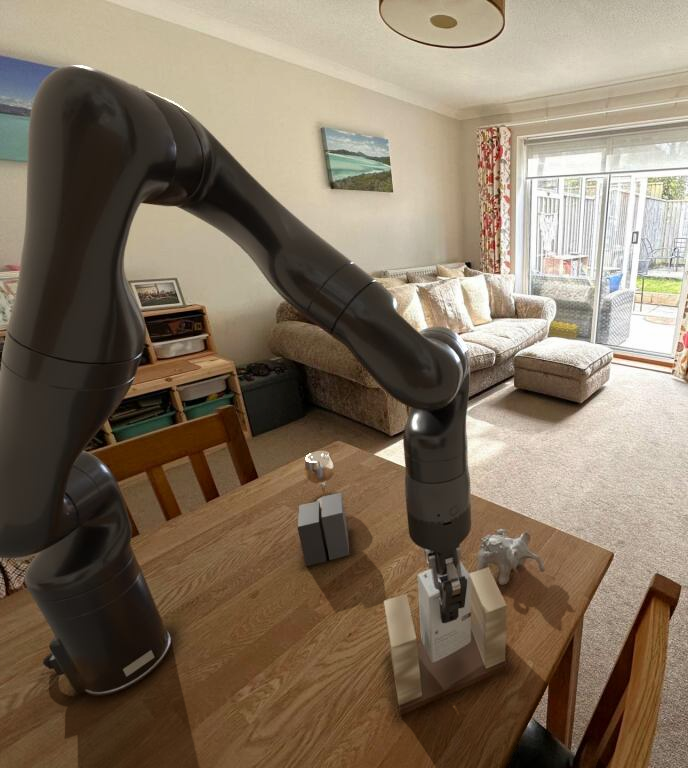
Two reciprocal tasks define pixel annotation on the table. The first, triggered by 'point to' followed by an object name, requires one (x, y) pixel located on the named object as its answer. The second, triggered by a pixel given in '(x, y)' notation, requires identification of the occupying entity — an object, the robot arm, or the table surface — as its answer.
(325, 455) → the wineglass
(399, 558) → the table surface
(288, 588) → the table surface
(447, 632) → the cosmetic box
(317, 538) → the grey books
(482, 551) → the gray elephant figurine
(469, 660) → the book board
